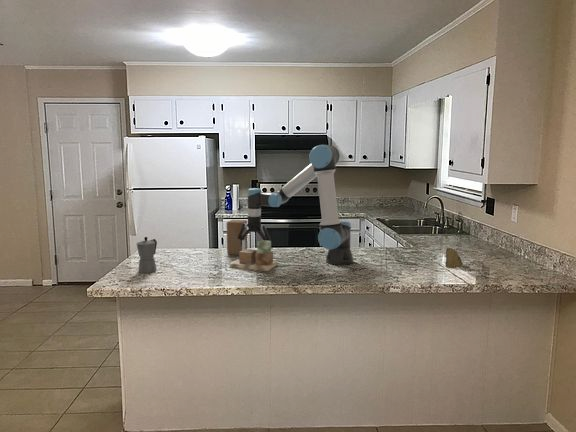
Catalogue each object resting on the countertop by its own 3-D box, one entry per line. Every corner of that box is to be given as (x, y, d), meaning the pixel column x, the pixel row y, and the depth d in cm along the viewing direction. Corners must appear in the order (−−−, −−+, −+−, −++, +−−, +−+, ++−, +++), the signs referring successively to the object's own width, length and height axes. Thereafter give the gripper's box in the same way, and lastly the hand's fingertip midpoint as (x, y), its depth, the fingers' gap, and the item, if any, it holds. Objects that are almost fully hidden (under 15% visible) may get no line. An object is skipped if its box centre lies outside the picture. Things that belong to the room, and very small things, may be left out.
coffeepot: (147, 275, 222) (145, 239, 220) (131, 273, 225) (129, 238, 223) (165, 267, 237) (163, 234, 234) (149, 266, 240) (148, 233, 237)
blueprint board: (276, 264, 242) (276, 261, 241) (267, 270, 230) (267, 267, 229) (240, 261, 249) (240, 257, 249) (229, 267, 238) (229, 263, 237)
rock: (460, 259, 244) (442, 256, 245) (466, 249, 238) (447, 246, 238) (463, 275, 236) (444, 272, 237) (468, 265, 230) (449, 262, 231)
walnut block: (245, 259, 245) (245, 249, 244) (256, 260, 242) (256, 250, 242) (239, 262, 238) (239, 251, 238) (251, 263, 236) (251, 252, 235)
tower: (273, 262, 239) (272, 240, 237) (267, 265, 232) (267, 243, 231) (261, 261, 241) (260, 239, 240) (255, 264, 235) (255, 242, 233)
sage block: (261, 258, 257) (261, 248, 256) (257, 260, 252) (257, 250, 251) (252, 257, 259) (252, 247, 258) (248, 259, 254) (248, 249, 253)
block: (242, 255, 263) (242, 222, 260) (226, 254, 265) (226, 221, 262) (247, 251, 273) (247, 219, 270) (232, 251, 275) (231, 219, 272)
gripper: (277, 216, 250) (276, 252, 254) (237, 213, 259) (237, 248, 263) (271, 218, 244) (271, 255, 247) (231, 215, 252) (231, 251, 256)
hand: (254, 252), depth 255 cm, fingers open, 13 cm apart
